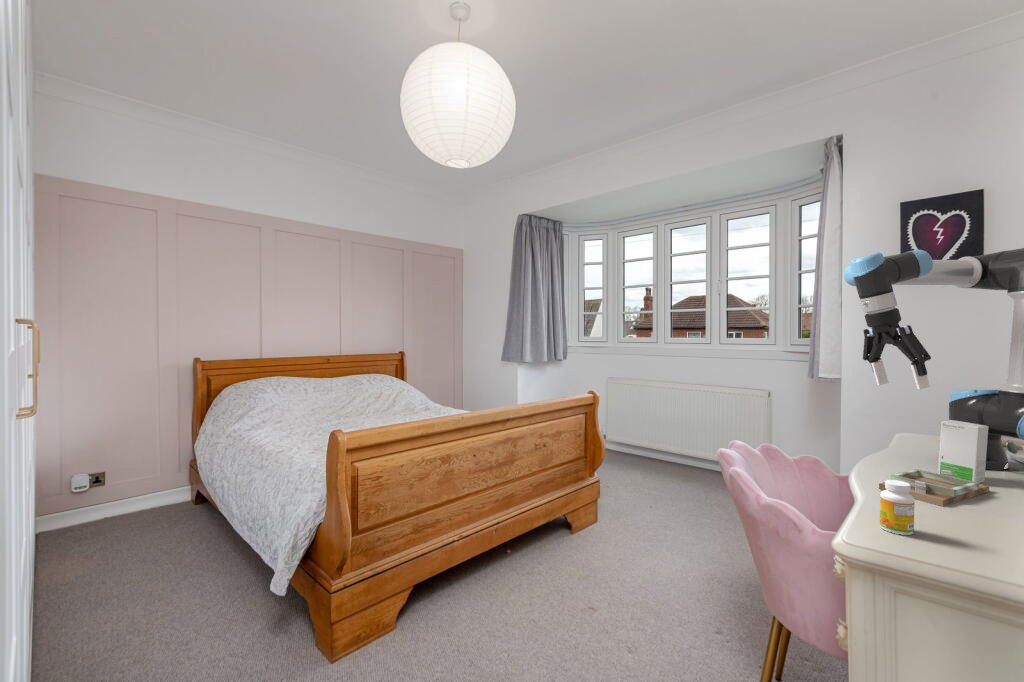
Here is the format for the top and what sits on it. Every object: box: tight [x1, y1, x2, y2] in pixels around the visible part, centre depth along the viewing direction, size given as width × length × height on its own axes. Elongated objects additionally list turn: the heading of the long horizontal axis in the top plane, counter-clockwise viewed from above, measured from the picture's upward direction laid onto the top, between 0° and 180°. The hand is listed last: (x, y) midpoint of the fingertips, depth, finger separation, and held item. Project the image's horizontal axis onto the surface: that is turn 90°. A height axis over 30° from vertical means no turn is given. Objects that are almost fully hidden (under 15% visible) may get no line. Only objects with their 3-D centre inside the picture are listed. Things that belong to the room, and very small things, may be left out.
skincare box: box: [937, 419, 988, 484], centre depth 131 cm, size 8×7×16 cm
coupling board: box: [878, 468, 990, 507], centre depth 121 cm, size 24×13×3 cm, turn 116°
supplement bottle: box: [879, 479, 916, 536], centre depth 96 cm, size 5×5×10 cm
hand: (902, 386), depth 129 cm, fingers open, 13 cm apart
